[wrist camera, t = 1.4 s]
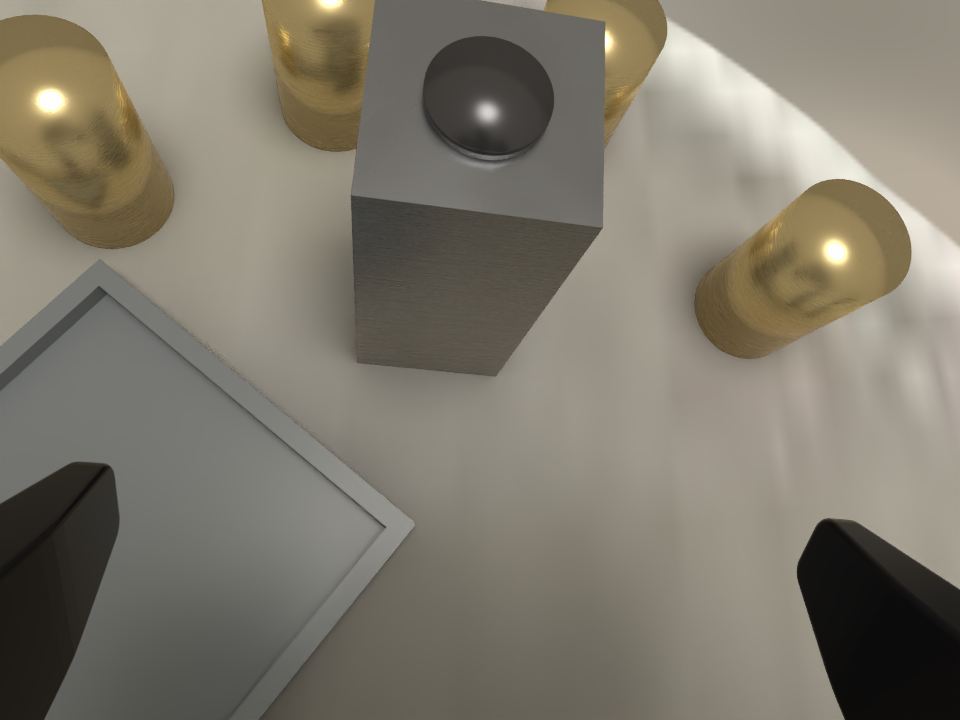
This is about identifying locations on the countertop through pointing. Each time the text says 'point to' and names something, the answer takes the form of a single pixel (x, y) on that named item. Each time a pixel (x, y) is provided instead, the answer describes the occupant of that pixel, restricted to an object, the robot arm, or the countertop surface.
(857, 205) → the cylinder
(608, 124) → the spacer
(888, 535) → the countertop surface
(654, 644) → the countertop surface
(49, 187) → the cylinder
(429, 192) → the pillar with dark dome
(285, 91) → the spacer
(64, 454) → the tray
